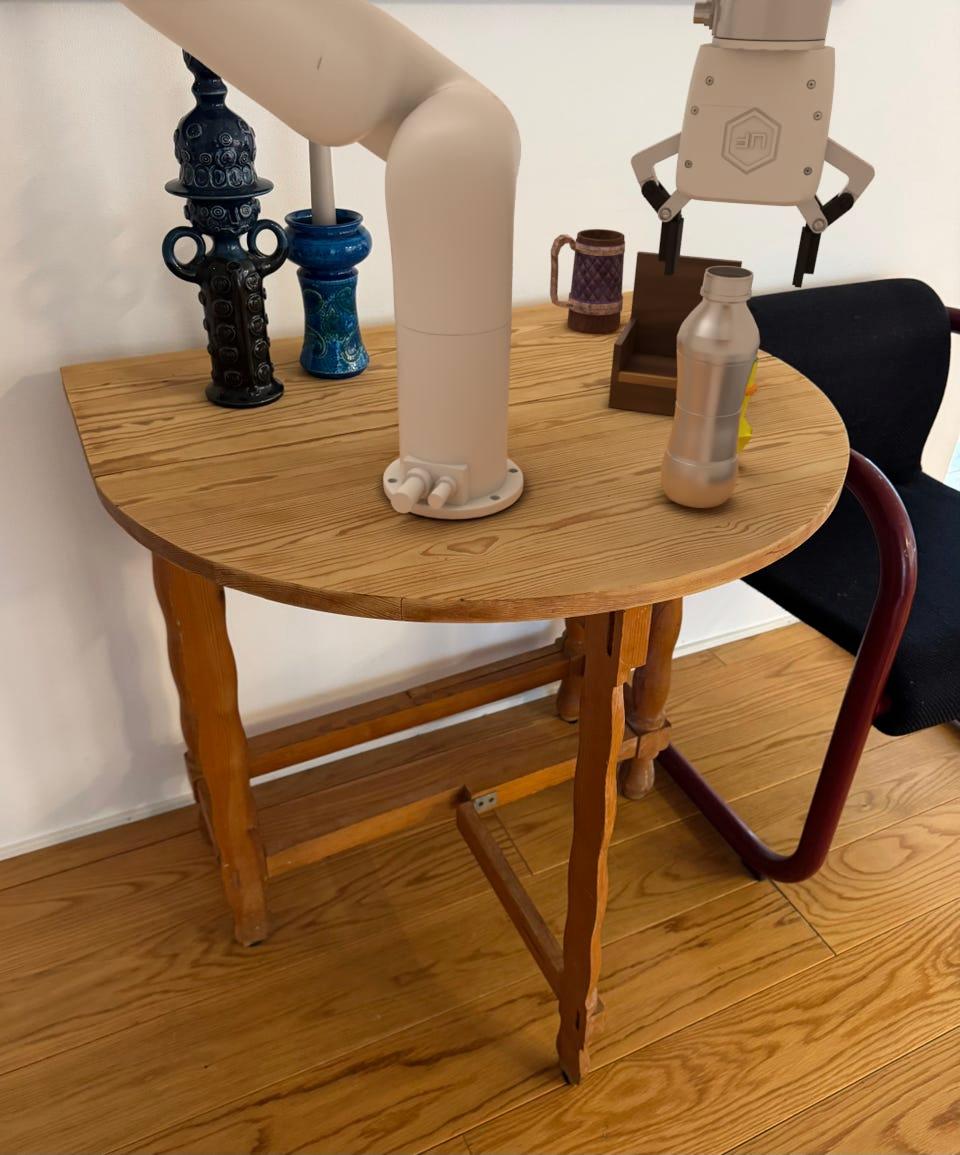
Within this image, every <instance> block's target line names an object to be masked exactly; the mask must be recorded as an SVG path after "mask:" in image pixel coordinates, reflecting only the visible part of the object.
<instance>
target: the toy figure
mask: <svg viewBox="0 0 960 1155" xmlns="http://www.w3.org/2000/svg"><path fill="white" fill-rule="evenodd" d="M758 361H759V356H758V355H756V359H755V362H754V365H753V368H752V372H751V375H750V378H749V381H748V384H747V388H746V392H745V397H744V401H743V404H742V410H741V415H740V422H739V435H738V449H737V454H738V455H739V454H740V453H741V452H742V450H744V448H746V447H747V445H748V444H749V442H750V441H751V440H752V439H753V438H754V435H753V431H754V428H753V427H752V426H751V425H750V424H749V422H748V420H747V419H746V417H745V414H746V412H747V408H748V406H749V402H750V399H751V396H753V395H754V394H756V393H757V391H758V387H757V384H756V383H755V379H756V375H757V374H756V372H757V367H758Z"/></svg>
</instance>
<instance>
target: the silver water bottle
mask: <svg viewBox="0 0 960 1155" xmlns="http://www.w3.org/2000/svg"><path fill="white" fill-rule="evenodd" d="M753 282H754V272H753V271H752V270H750V269H748V268H745V267H744V268H743V267H741V268H740V267H733V266H715V267H710V268H707V269H706V271H705V274H704V281H703V286H702V287H701V291H700V294H701V295H702V296H703V300H702V302H701V303H700V304H699V305H698V306H697V307H696V308H695V309H694V310H693V311H692V312H691V313H690V314H689V315H688V317H687V318H686V319H685V320H684V322H683V323H682V325H681V327H680V330H679V332H678V334H677V393H676V397H677V400H676V407H675V415H674V416H673V420H672V425H671V429H670V435H669V439H668V442H667V446H666V449H665V452H664V453H663V456H662V457H663V458H662V460H661V464H660V469H659V472H660V473H659V474H660V486H661V489H662V490H663V493H664V494H665V495H666V497H667V498H668V499H669V500H670V501H672V502H675V503H676V504H679V505H682V506H685V507H689V508H696V509H708V508H709V509H710V508H714V507H718V506H721V505H723V504H724V503H725V502H726V501H727V500H728V499H729V498H730V497H731V496H733V493H734V490H735V488H736V485H737V482H738V480H739V453H738V454H737V449H738V435H739V422H740V415H741V410H742V404H743V401H744V397H745V392H746V388H747V384H748V381H749V378H750V375H751V372H752V368H753V365H754V362H755V359H756V356H758V352H759V348H760V344H761V337H760V331H759V328H758V325H757V323H756V321H755V318H754V316H753V314H752V313H751V311H750V309H749V307H748V305H747V301H749V300H750V299H751V298H752V295H753V288H752V287H753Z"/></svg>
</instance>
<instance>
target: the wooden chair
mask: <svg viewBox="0 0 960 1155" xmlns="http://www.w3.org/2000/svg"><path fill="white" fill-rule="evenodd" d="M658 254H659V252H650V251H649V252H648V251H641V250H639V251H637V252H636V259H635V260H636V263H635V270H634V272H635V273H634V281H633V290H632V300H631V311H630V318H629V319H628V321H627V322H626V324H625V326H624V328H623V329H622V330H621V332H620V334H619V335H618V337H617V339H616V340H615V342H614V343H613V352H612V360H611V361H612V362H611V373H610V383H609V392H608V404H607V405H608V408H612V409H613V408H614V409H618V410H619V409H621V410H628V411H635V412H641V413H650V414H656V415H664V416H671V417H674V415H675V407H676V400H677V397H676V393H677V334H678V332H679V330H680V327H681V325H682V323H683V322H684V320H685V319H686V318H687V317H688V315H689V314H690V313H691V312H692V311H693V310H694V309H695V308H696V307H697V306H698V305H699V304H700V303H701V302H702V300H703V296H702V295H701V294H700V291H701V287H702V286H703V281H704V274H705V271H706V269H707V268H710V267H715V266H733V267H740V268H742V266H743V261H742V260H735V259H723V258H712V257H703V256H694V255H693V256H692V255H682V254H680V259H679V266H678V268H677V270H676V272H675V273H674V275H671V276H664V271H665V262H662V261H658Z"/></svg>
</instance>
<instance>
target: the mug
mask: <svg viewBox="0 0 960 1155" xmlns="http://www.w3.org/2000/svg"><path fill="white" fill-rule="evenodd" d="M576 233H577V234H576V238H574V237H572V236H571V235H569V234H567V233H566V234H559V235H558V236H557V237H555V238H554V239H553V242H552V245H551V248H550V282H549V296H550V300H551V303H552V304H553V305H555V306H557V307H559V308H563V309H568V312H567V322H566V324H567V326H568V327H570V329H571V330H574V331H575V332H579V333H583V334H590V335H604V334H610V333H613V332H616V331H617V330H619V328H620V327H621V315H622V314H621V313H622V311H623V304H624V303H623V302H624V295H623V278H624V263H625V261H624V260H625V253H626V240H625V234H624V233H622V232H620V231H616V230H612V229H605V228H604V229H603V228H592V229H591V228H589V229H583V230H579V231H578V232H576ZM567 244H569V248H570V250H571V251H573V252H574V256H573V265H572V266H573V267H572V274H571V275H572V276H571V285H570V292H568V301H567V300H559V296H558V287H559V254H560V252H561V249H562V248H563V247H564V246H565V245H567Z"/></svg>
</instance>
